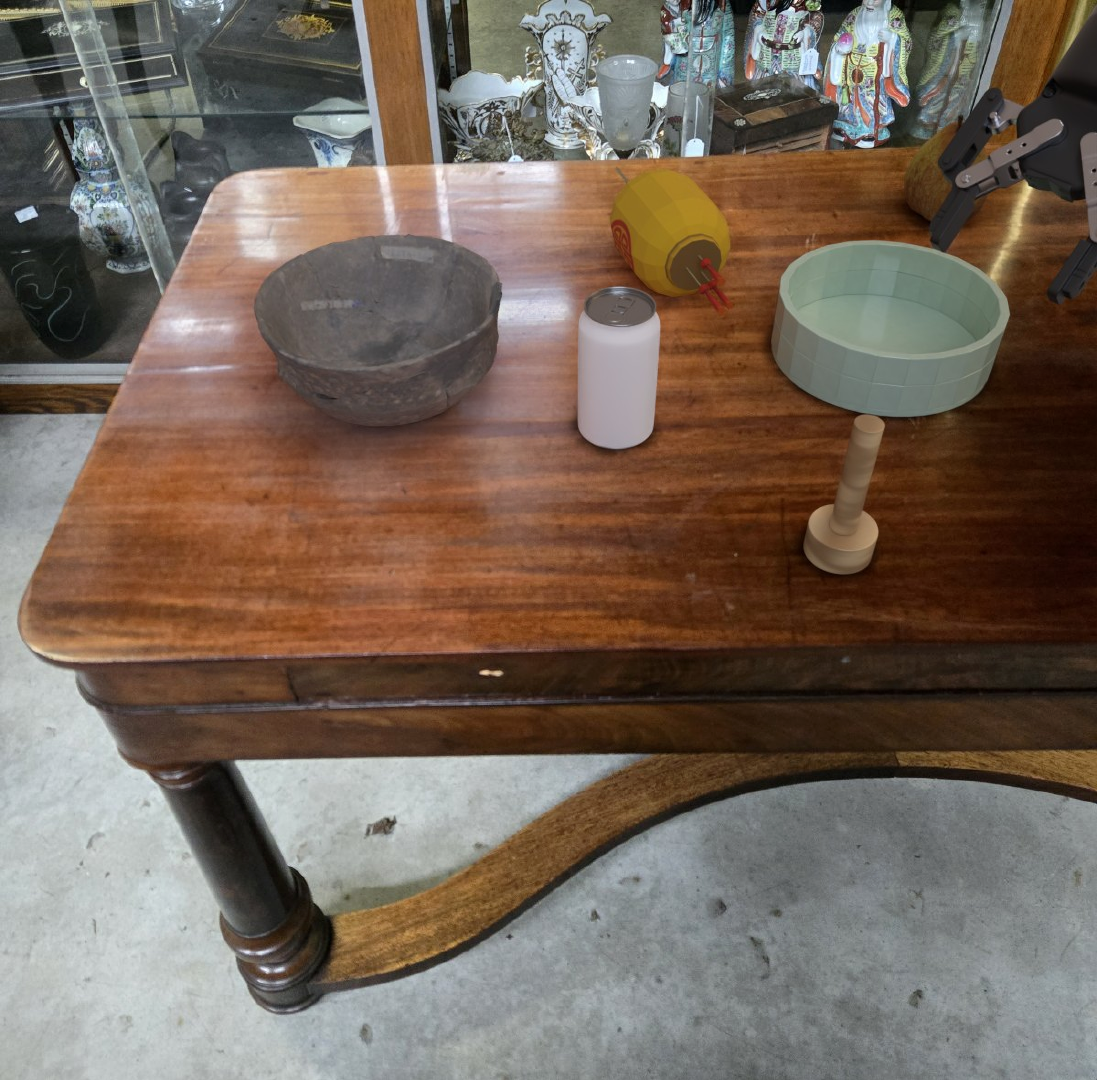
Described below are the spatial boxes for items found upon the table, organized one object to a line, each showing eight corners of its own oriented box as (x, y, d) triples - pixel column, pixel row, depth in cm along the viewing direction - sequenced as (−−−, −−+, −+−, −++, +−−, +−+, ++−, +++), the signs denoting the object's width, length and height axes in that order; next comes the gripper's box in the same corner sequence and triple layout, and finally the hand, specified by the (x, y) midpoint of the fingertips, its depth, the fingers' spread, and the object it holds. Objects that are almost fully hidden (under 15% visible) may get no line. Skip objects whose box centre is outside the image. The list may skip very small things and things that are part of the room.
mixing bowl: (1008, 325, 99) (1027, 268, 94) (964, 441, 86) (985, 382, 82) (807, 278, 105) (817, 223, 101) (741, 380, 93) (749, 322, 89)
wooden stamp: (879, 540, 78) (916, 412, 70) (861, 583, 75) (897, 455, 67) (814, 519, 80) (843, 393, 71) (794, 561, 77) (821, 433, 68)
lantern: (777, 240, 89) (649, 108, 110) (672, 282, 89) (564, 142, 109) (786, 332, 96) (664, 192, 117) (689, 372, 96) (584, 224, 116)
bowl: (226, 406, 91) (198, 307, 84) (388, 304, 103) (375, 210, 96) (398, 499, 82) (382, 397, 75) (555, 376, 94) (553, 278, 87)
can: (566, 441, 87) (565, 318, 79) (592, 398, 91) (595, 277, 83) (639, 459, 85) (646, 335, 77) (663, 414, 90) (672, 292, 81)
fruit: (942, 190, 119) (971, 82, 110) (997, 224, 113) (1031, 113, 104) (880, 205, 116) (904, 96, 108) (933, 241, 110) (962, 129, 102)
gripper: (1032, -21, 66) (886, 211, 69) (1264, 44, 58) (1090, 299, 62) (1046, 40, 72) (912, 250, 75) (1257, 106, 65) (1100, 335, 68)
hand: (993, 272), depth 68 cm, fingers open, 8 cm apart
